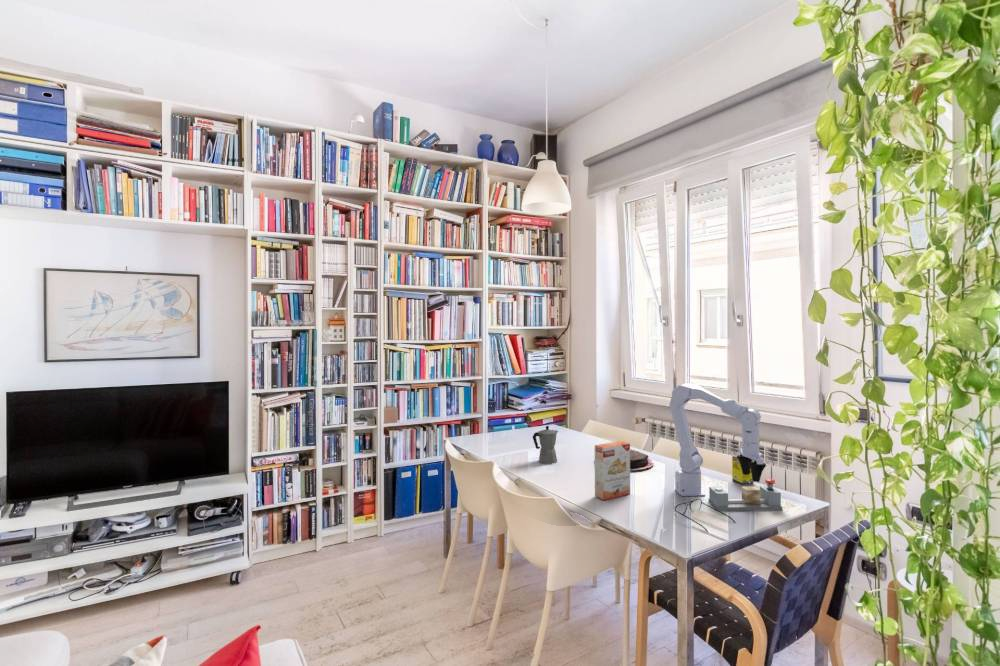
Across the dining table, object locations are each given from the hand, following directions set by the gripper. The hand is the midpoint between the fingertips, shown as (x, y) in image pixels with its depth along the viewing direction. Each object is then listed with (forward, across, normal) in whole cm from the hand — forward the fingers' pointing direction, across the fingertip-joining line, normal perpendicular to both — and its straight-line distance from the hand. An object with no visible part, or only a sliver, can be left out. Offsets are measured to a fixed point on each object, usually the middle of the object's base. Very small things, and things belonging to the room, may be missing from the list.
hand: (751, 477), depth 181 cm
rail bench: (+10, 0, +2) cm, 11 cm away
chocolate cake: (+11, +55, +35) cm, 66 cm away
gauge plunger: (+5, 0, -7) cm, 8 cm away
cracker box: (+11, +12, +49) cm, 52 cm away
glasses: (+11, -13, +22) cm, 28 cm away
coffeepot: (+11, +59, +73) cm, 94 cm away
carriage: (+9, 0, 0) cm, 9 cm away
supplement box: (+11, +26, -9) cm, 29 cm away
